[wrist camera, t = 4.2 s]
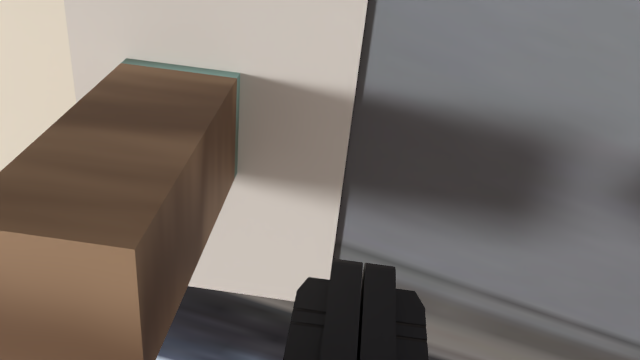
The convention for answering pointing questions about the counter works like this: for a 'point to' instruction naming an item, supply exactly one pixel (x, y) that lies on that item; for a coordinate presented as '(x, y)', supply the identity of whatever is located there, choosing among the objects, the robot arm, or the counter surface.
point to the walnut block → (115, 213)
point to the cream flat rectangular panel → (254, 110)
